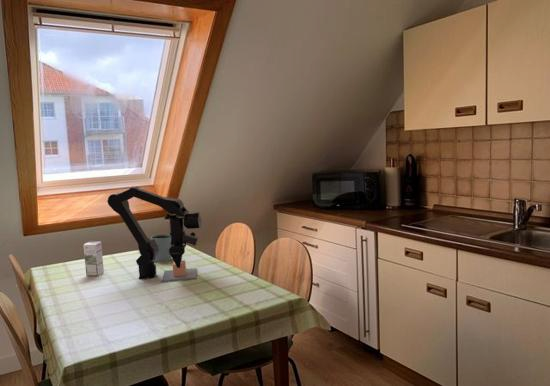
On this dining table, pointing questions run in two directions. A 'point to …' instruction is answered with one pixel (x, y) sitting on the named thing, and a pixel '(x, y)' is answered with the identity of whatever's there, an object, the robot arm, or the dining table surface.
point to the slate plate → (169, 276)
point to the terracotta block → (179, 269)
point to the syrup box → (93, 258)
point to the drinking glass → (162, 247)
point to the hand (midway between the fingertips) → (179, 264)
